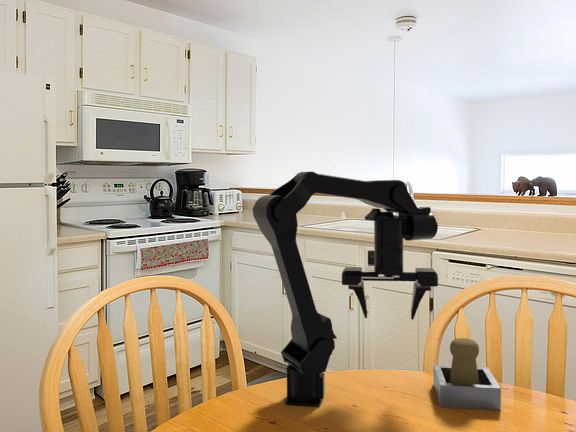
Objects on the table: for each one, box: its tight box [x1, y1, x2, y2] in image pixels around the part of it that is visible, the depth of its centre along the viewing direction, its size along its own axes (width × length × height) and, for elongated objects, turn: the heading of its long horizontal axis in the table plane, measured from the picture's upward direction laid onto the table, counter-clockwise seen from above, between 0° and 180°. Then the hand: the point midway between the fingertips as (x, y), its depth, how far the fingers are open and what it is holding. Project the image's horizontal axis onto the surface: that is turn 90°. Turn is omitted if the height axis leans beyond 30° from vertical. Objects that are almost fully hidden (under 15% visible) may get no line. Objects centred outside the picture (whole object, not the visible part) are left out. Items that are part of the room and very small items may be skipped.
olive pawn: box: [449, 337, 480, 385], centre depth 97 cm, size 6×6×11 cm
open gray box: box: [433, 364, 502, 411], centre depth 97 cm, size 10×10×4 cm
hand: (388, 318), depth 105 cm, fingers open, 9 cm apart
